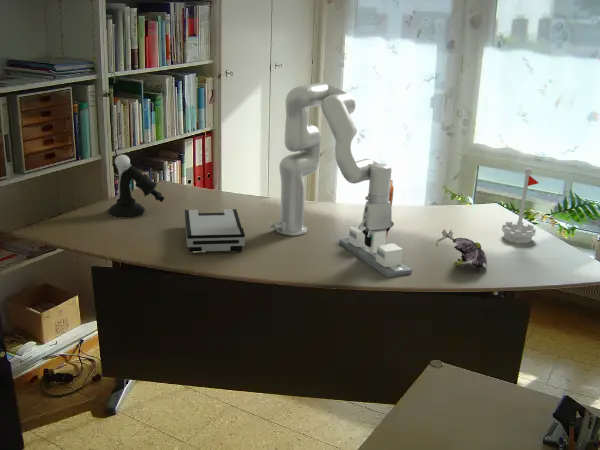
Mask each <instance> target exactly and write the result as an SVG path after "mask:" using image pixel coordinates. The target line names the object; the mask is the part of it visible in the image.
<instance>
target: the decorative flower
mask: <svg viewBox="0 0 600 450" xmlns="http://www.w3.org/2000/svg"><path fill="white" fill-rule="evenodd" d="M452 243H453V244H456V245H455V246H454V247H453V249H455V250H456V251H458V252H459V253H461V256H460V258H457V261H455V262H453V264H454V267H455V268H458V265H459V267H463V263H467V262H469V261H471V260H472V263H471V266H473V267H475V269H478V268H479V272H481V270H482V267H483V265H485V268H486V269H487V268H488V267H487V266H488V259H487V255H486V253H485V251H484V250H483V249H482V245H481V243H479V242H475V241H473V240H472V239H469V238H466V237H456V238H454V239H453V240H452ZM457 243H460V244H457Z"/></svg>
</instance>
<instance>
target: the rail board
mask: <svg viewBox="0 0 600 450" xmlns="http://www.w3.org/2000/svg"><path fill="white" fill-rule="evenodd" d="M347 238H348V237H347ZM347 238H339V240H338V241H339V244H340V245H342V246H343V247H345V248H346V249H347V250H349V251H350V252H351V253H353V254H354V255H355V256H357V257H358V258H359V259H361V260H363V261H364V262H365V263H367V265H369V266H371V267H372V268H373V269H375V270H376V271H378V272H379V273H381V274H382V275H383V276H385V277H386V279H387V278H393V277H399V276H403V275H404V276H405V275H409V274H412V273H413V270H412V268H410V267H409V266H407V265H406V264H404V263H403V262H401V265H397V266H399V267H400V268H402V269H403V270H402V271H396V272H395V271H393V270H392V269H390V268H389V267H383V266H382V265H381V264H379V263H378V262H376V258H374V257H373V256H372V255H370V254H369V253H367V252H366V251H364V250H363V249H362V248H360V247H355V246H354V245H352V244H351V243H349V239H347Z"/></svg>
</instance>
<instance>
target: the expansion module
mask: <svg viewBox="0 0 600 450" xmlns="http://www.w3.org/2000/svg"><path fill="white" fill-rule="evenodd" d="M370 237H371V247H368V246H366V245H365V248H366V249H368V250H369V251H371V252H372V253H377V246H378V245H385V244H386V240H387V236H386V231H385V230H383V229H379V230H372V232H371V235H370Z"/></svg>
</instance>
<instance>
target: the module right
mask: <svg viewBox="0 0 600 450" xmlns="http://www.w3.org/2000/svg"><path fill="white" fill-rule="evenodd" d="M403 250H404V249H403V248H402V247H400V246H398V245H397V244H396V243H387V244H386V243H385V245H378V246H377V253H376V262H378V263H379V264H381V265H382V266H383V267H390V266H396V265H401V263H403V262H402V260H403Z"/></svg>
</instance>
